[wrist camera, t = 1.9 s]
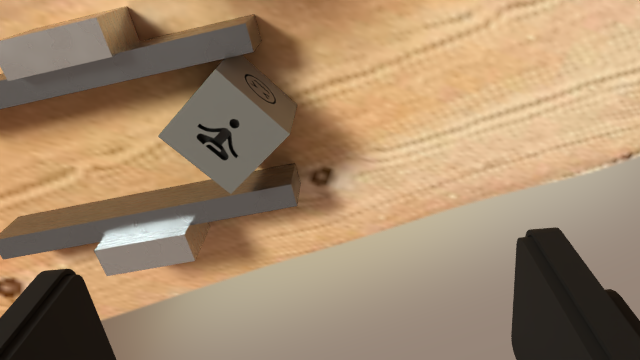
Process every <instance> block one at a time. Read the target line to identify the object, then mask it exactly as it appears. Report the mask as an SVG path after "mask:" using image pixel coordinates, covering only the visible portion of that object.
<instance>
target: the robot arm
mask: <svg viewBox="0 0 640 360" xmlns="http://www.w3.org/2000/svg"><path fill="white" fill-rule="evenodd" d="M511 337H512V346H513V351H514V354H515V357H516V359H517V360H640V321H639V319H638V318H637V317H636V315H635V314H634V313H633V312H632V310H631V309H630V308H629V306H628V305H627V304H626V302H625V301H624V300H623V298H622V297H621V296H620V295H619V294H618V293H617V292H616V291H613V290H611V289H608V290H604V288H603V287H602V286H601V284H600V283H599V282H598V280H597V279H596V278H595V276H594V275H593V274H592V272H591V271H590V270H589V268H588V267H587V265H586V264H585V263H584V261H583V260H582V259H581V257H580V256H579V254H578V253H577V252H576V250H575V249H574V248H573V246H572V245H571V244H570V242H569V241H568V240H567V238H566V237H565V236H564V234H563V233H562V231H561V230H560V229H559V228H544V229H533V230H528V231H527V233H526V236H525V237H523V238H518V240H517V248H516V267H515V282H514V301H513V318H512V336H511ZM0 360H116V357H115V355H114V353H113V350H112V348H111V345H110V343H109V341H108V338H107V336H106V333H105V331H104V328H103V326H102V324H101V321H100V318H99V316H98V314H97V311H96V309H95V306H94V304H93V301H92V299H91V296H90V294H89V292H88V289H87V287H86V284H85V282H84V280H83V278H82V277H81V276H80V275H76V273H75V272H74V271H73V270H71V269H60V270H48V271H43V272H41V273H40V274H38V275H37V277H36V278H35V279H34V280H33V281H32V282H31V283H30V285H29V286H28V287H27V288H26V289H25V290H24V291H23V293H22V294H21V295H20V296H19V297H18V298H17V299H16V301H15V302H14V303H13V304H12V305H11V306H10V307H9V309H8V310H7V311H6V312H5V313H4V314H3V315H2V317H1V318H0Z"/></svg>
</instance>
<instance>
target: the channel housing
mask: <svg viewBox="0 0 640 360" xmlns="http://www.w3.org/2000/svg"><path fill="white" fill-rule="evenodd" d="M261 41H262V40H261V37H260V33H259V29H258V26H257V22H256V18H255V15H249V16H245V17H241V18H237V19H232V20H228V21H224V22H220V23H215V24H211V25H207V26H203V27H198V28H194V29H190V30H186V31H181V32H177V33H173V34H169V35H164V36H160V37H156V38H152V39H148V40H143V41H140V40H139V38H138V35H137V32H136V30H135V27H134V24H133V22H132V19H131V16H130V14H129V11H128V8H127V6H126V7H122V8H118V9H114V10H110V11H106V12H102V13H98V14H93V15H89V16H85V17H81V18H77V19H73V20H69V21H65V22H61V23H57V24H53V25H49V26H45V27H41V28H37V29H33V30H29V31H26V32H23V33H20V34H17V35H14V36H11V37H8V38H5V39H2V40H0V66H1V68H2V70H3V72H4V73H3V74H0V109H3V108H7V107H12V106H16V105H21V104H25V103H30V102H34V101H38V100H43V99H47V98H52V97H56V96H61V95H65V94H69V93H74V92H78V91H83V90H87V89H92V88H96V87H100V86H105V85H109V84H114V83H118V82H123V81H127V80H131V79H136V78H140V77H145V76H149V75H154V74H158V73H162V72H167V71H171V70H176V69H180V68H185V67H189V66H194V65H198V64H202V63H207V62H211V61H216V60H220V59H225V58H229V57H233V56H238V55H242V54H247V53H251V52H254V51H255V49H256V48H257V46H258V45H259V44H260V42H261ZM300 184H301V183H300V180H299V176H298V172H297V169H296V165H295V163H294V164H289V165H284V166H279V167H274V168H269V169H263V170H258V171H253V172H252V173H251V174H250V175H249V176H248V177H247V178H246V179H245V180H244V181H243V182H242V183H241V184H240V185H239V186H238V187H237V188H236V189H235V190H234V191H233V192H232V193H231V194H230V193H229V192H228V191H226V190H225V189H224V188H222V187H221V186H220V185H219V184H217V183H216V182H215V181H214V180H207V181H201V182H196V183H191V184H186V185H181V186H176V187H170V188H165V189H160V190H155V191H150V192H145V193H139V194H134V195H129V196H124V197H119V198H114V199H108V200H103V201H98V202H93V203H88V204H82V205H77V206H72V207H67V208H62V209H57V210H51V211H46V212H41V213H36V214H31V215H26V216H20V217H18V218H17V219H15V220H14V221H13V222H12V223H11V224H10V225H9V226H8V227H7V228H5V229H4V230H3V231H2V232H1V233H0V255H1V257H2V258H3V259H8V258H14V257H19V256H25V255H30V254H36V253H41V252H47V251H52V250H58V249H63V248H69V247H74V246H80V245H85V244H91V243H96V242H100V243H99V245H98V246H97V247H96V249H95V250H94V252H95V254H96V256H97V258H98V260H99V262H100V264H101V266H102V268H103V269H104V271H105V273H106V275H107V276H110V275H116V274H122V273H128V272H133V271H139V270H145V269H151V268H157V267H163V266H168V265H174V264H180V263H186V262H192V261H195V260H196V258H197V255H198V253H199V251H200V249H201V246H202V244H203V242H204V239H205V237H206V235H207V233H208V230H209V228H210V226H209V223H208V222H212V221H217V220H223V219H228V218H234V217H239V216H245V215H250V214H256V213H261V212H267V211H272V210H278V209H283V208H289V207H294V206H297V204H298V197H299V191H300Z"/></svg>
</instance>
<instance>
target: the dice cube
mask: <svg viewBox="0 0 640 360" xmlns="http://www.w3.org/2000/svg"><path fill="white" fill-rule="evenodd" d="M296 108H297V104H296V103H295V102H293V101H292V100H291V99H290V98H289V97H288V96H287V95H286V94H285V93H283V92H282V91H281V90H280V89H279V88H278V87H277V86H276V85H275V84H273V83H272V82H271V81H270V80H269V79H268V78H267V77H266V76H265V75H263V74H262V73H261V72H260V71H259V70H258V69H257V68H256V67H255V66H253V65H252V64H251V63H250V62H249V61H248V60H247V59H246V58H245V57H243V56H242V55H238V56H233V57H229V58H225V59H224V60H223V61H222V62H221V63H220V64H219V66H218V67H217V68H216V69H215V70H214V71H213V72H212V74H211V75H210V76H209V77H208V78H207V79H206V81H205V82H204V83H203V84H202V85H201V86H200V88H199V89H198V90H197V91H196V92H195V93H194V95H193V96H192V97H191V98H190V99H189V101H188V102H187V103H186V104H185V105H184V106H183V108H182V109H181V110H180V111H179V112H178V113H177V115H176V116H175V117H174V118H173V119H172V120H171V122H170V123H169V124H168V125H167V126H166V127H165V129H164V130H163V131H162V132H161V133H160V134H159V136H158V137H159V138H161V139H162V140H163V141H164V142H166V143H167V144H168V145H170V146H171V147H172V148H173V149H175V150H176V151H177V152H178V153H180V154H181V155H182V156H183V157H185V158H186V159H187V160H188V161H190V162H191V163H192V164H193V165H195V166H196V167H197V168H199V169H200V170H201V171H202V172H204V173H205V174H206V175H207V176H209V177H210V178H211V179H212V180H214V181H215V182H216V183H217V184H219V185H220V186H221V187H222V188H224V189H225V190H226V191H228V192H229V193H230V194H231V193H232V192H233V191H234V190H235V189H236V188H237V187H238V186H239V185H240V184H241V183H242V182H243V181H244V180H245V179H246V178H247V177H248V176H249V175H250V174H251V173H252V172H253V171H254V170H255V169H256V168H257V167H258V166H259V165H260V164H261V163H262V162H263V161H264V160H265V159H266V158H267V157H268V156H269V155H270V154H271V153H272V152H273V151H274V150H275V149H276V148H277V147H278V146H279V145H280V144H281V143H282V142H283V141H284V140H285V139H286V138H287V137H288V136H289V135H290V132H291V128H292V124H293V120H294V116H295V112H296Z"/></svg>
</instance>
